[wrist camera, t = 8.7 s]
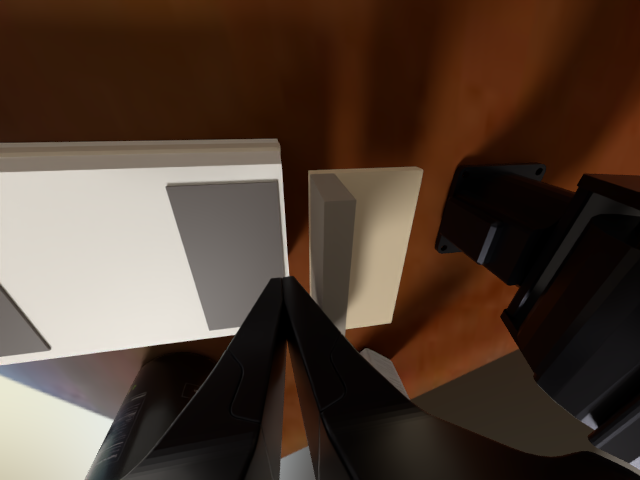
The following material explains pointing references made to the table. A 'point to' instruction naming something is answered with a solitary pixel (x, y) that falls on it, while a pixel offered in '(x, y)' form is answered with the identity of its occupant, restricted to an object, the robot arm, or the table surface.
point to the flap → (359, 240)
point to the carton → (134, 242)
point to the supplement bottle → (149, 411)
